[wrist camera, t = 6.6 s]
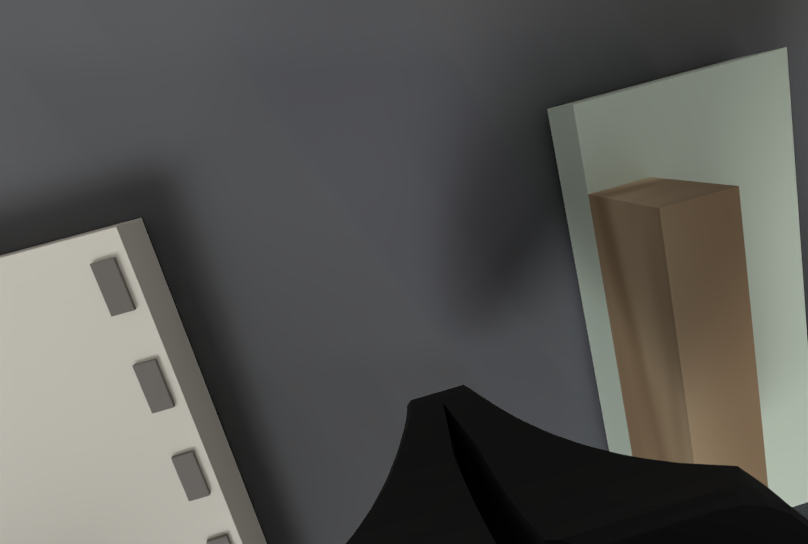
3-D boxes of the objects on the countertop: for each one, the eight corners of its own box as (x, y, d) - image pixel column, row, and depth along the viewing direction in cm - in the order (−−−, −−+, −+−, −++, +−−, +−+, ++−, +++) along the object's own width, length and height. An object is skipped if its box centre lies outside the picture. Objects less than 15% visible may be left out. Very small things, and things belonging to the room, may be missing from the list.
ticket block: (20, 697, 15) (-17, 760, 14) (-204, 309, 12) (-283, 333, 11) (293, 612, 16) (288, 663, 14) (141, 217, 13) (114, 227, 11)
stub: (620, 515, 16) (719, 644, 12) (547, 108, 13) (643, 92, 9) (775, 467, 16) (924, 576, 12) (738, 58, 13) (918, 17, 9)
